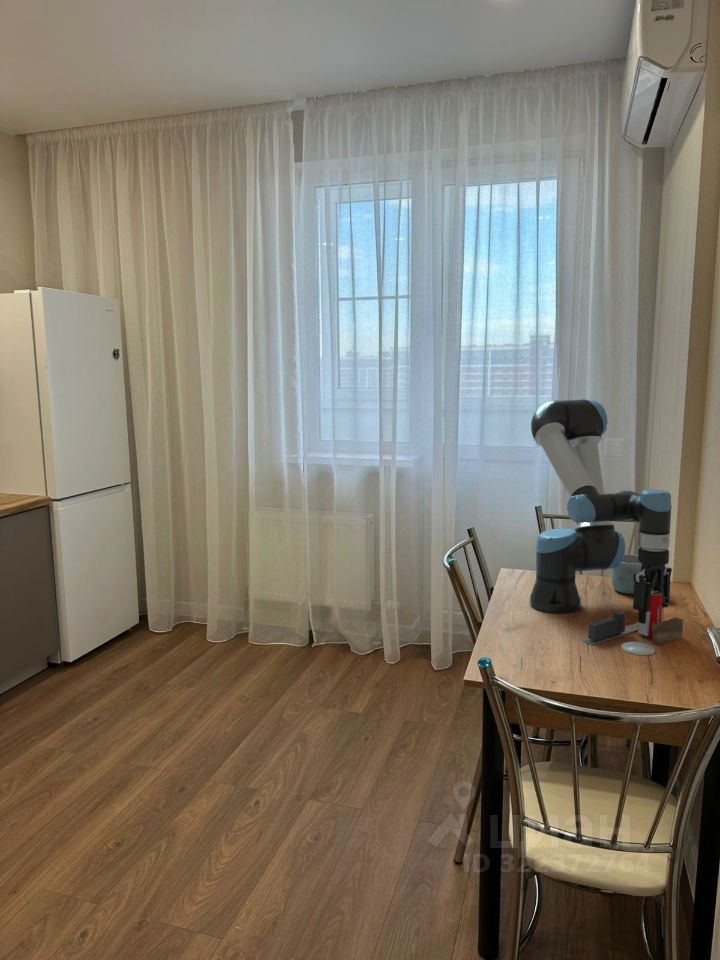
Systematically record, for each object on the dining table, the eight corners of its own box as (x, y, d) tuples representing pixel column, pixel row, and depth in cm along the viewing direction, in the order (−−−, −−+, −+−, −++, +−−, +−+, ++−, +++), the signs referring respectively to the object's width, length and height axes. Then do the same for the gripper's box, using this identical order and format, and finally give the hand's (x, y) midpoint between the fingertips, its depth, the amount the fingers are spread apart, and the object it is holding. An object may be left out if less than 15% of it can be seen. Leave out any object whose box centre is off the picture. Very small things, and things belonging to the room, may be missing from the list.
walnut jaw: (652, 643, 174) (652, 624, 173) (675, 635, 179) (675, 617, 179) (659, 645, 172) (659, 627, 172) (682, 637, 178) (682, 619, 177)
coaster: (614, 647, 172) (614, 646, 171) (634, 641, 176) (634, 639, 176) (642, 657, 165) (642, 656, 165) (661, 650, 169) (662, 649, 169)
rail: (581, 641, 176) (581, 640, 176) (641, 622, 189) (641, 621, 189) (591, 645, 173) (591, 644, 173) (651, 625, 186) (651, 624, 186)
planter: (603, 586, 224) (604, 555, 222) (638, 584, 225) (639, 553, 224) (621, 597, 212) (622, 564, 210) (658, 595, 213) (659, 562, 211)
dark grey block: (587, 637, 177) (587, 619, 176) (616, 628, 183) (617, 610, 182) (595, 640, 175) (596, 621, 174) (624, 631, 181) (625, 613, 180)
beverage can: (662, 638, 177) (664, 595, 175) (642, 637, 178) (643, 594, 176) (658, 631, 182) (660, 589, 180) (638, 630, 183) (639, 588, 181)
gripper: (644, 556, 169) (641, 643, 172) (687, 546, 178) (683, 629, 182) (619, 550, 175) (616, 634, 178) (661, 540, 185) (658, 621, 188)
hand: (650, 631), depth 180 cm, fingers closed on beverage can, 5 cm apart
